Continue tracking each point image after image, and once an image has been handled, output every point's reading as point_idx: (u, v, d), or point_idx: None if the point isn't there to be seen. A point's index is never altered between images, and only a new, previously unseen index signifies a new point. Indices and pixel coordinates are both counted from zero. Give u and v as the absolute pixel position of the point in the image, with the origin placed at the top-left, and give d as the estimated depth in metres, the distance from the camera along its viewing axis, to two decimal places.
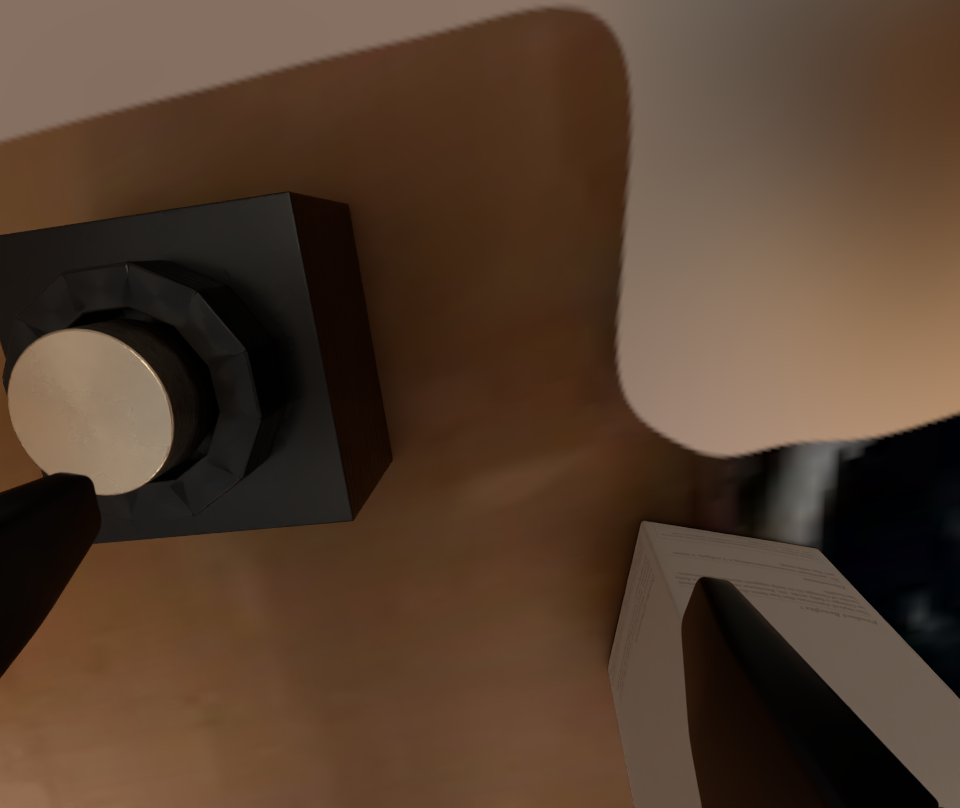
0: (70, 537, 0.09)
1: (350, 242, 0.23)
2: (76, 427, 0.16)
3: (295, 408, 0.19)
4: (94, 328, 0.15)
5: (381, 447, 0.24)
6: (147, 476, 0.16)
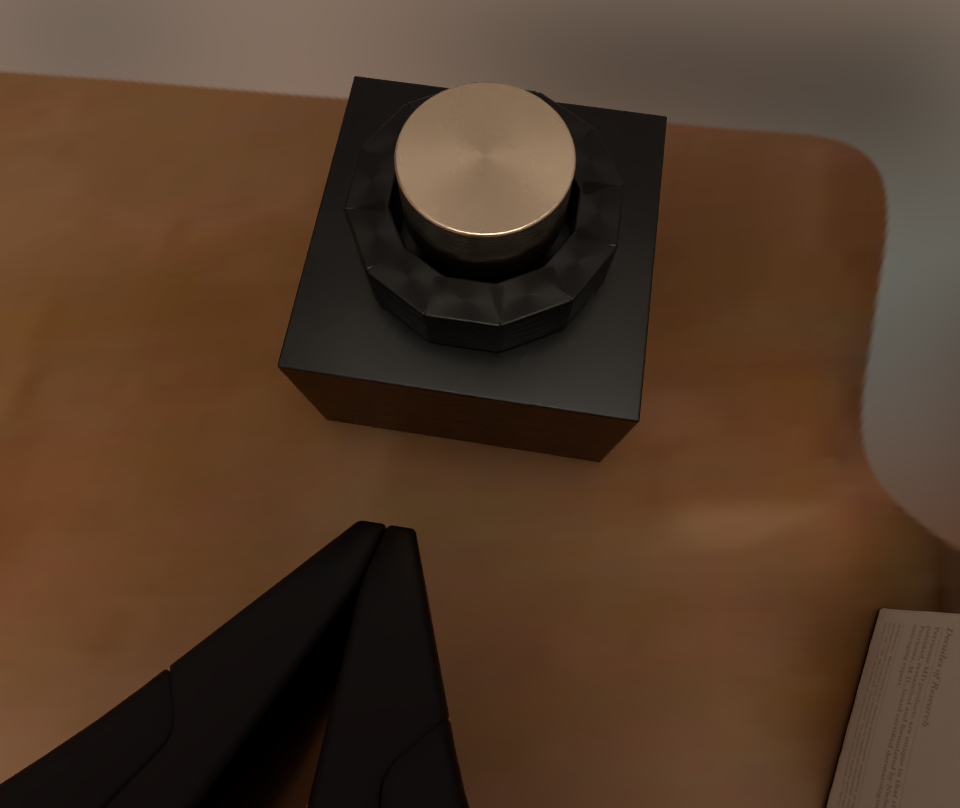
0: None
1: None
2: (466, 162, 0.15)
3: (612, 287, 0.18)
4: None
5: None
6: (519, 225, 0.14)
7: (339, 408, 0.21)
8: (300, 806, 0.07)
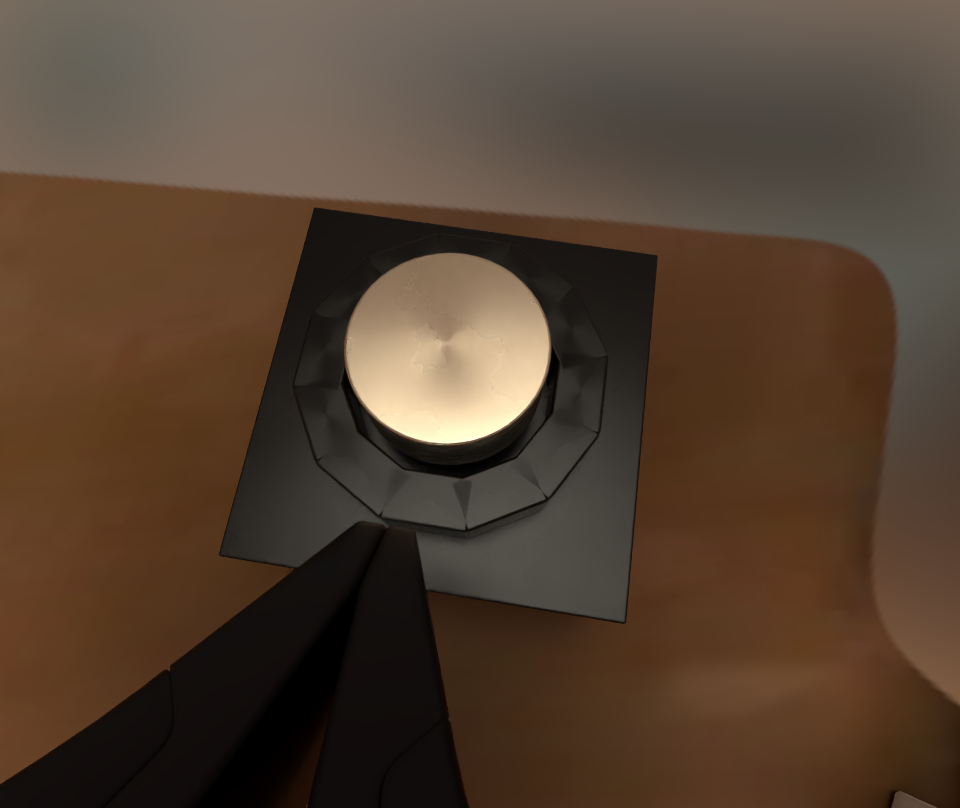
0: None
1: None
2: (426, 352, 0.13)
3: (596, 459, 0.16)
4: None
5: None
6: (486, 431, 0.13)
7: None
8: (300, 806, 0.07)
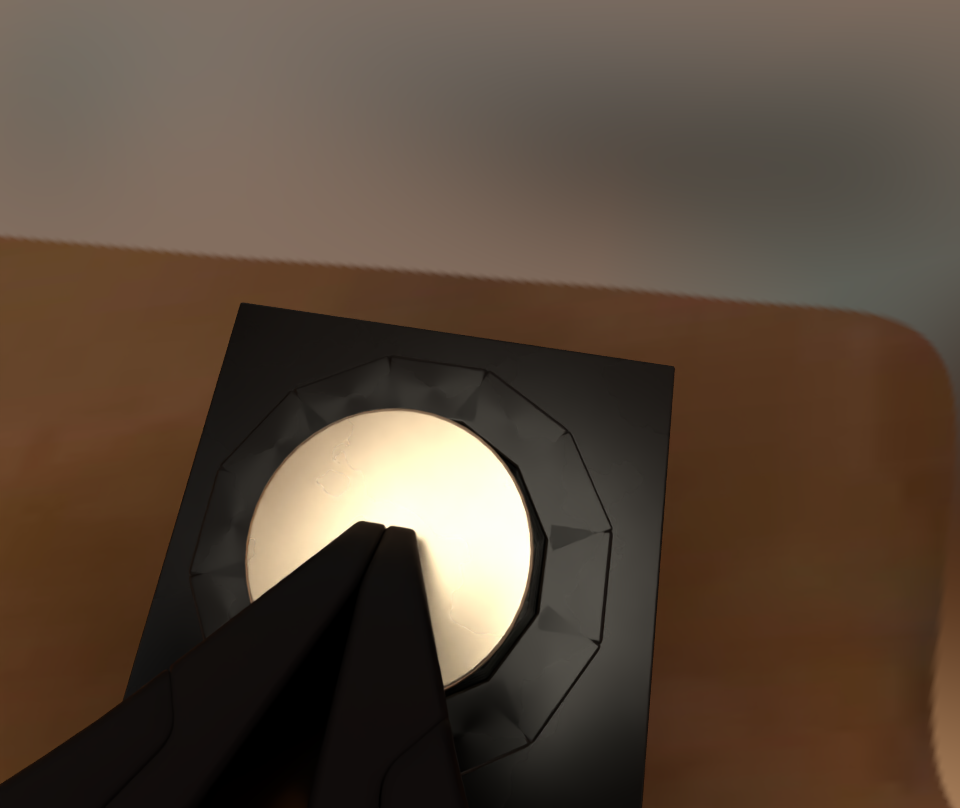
0: None
1: None
2: None
3: None
4: None
5: None
6: None
7: None
8: (300, 806, 0.07)
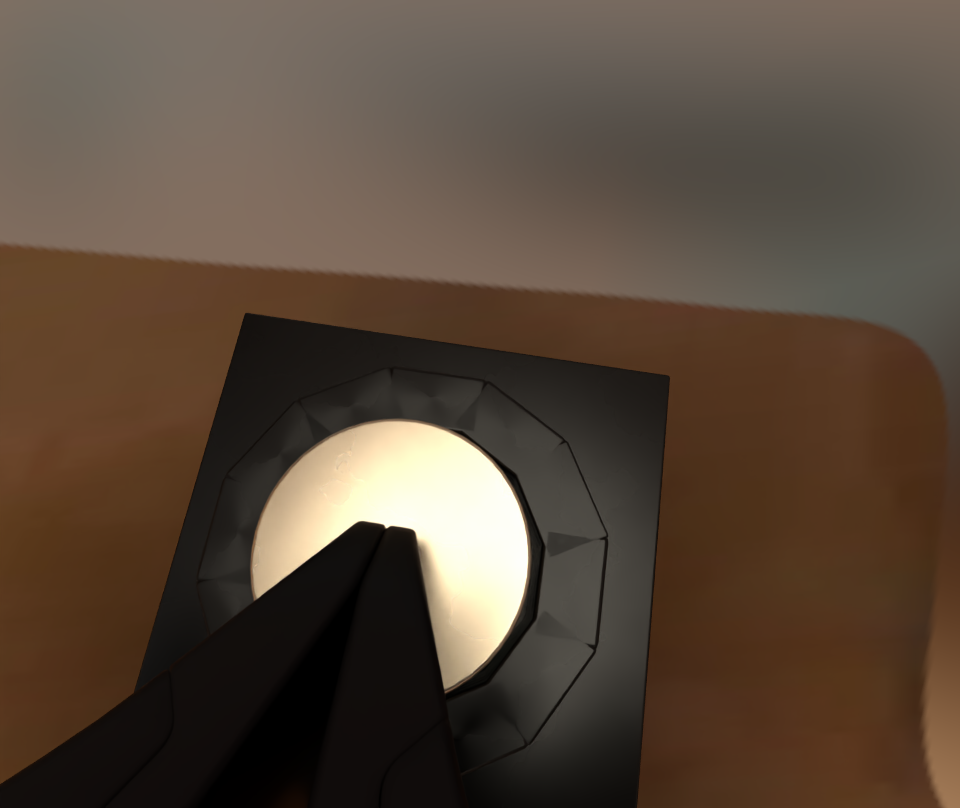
0: None
1: None
2: None
3: None
4: None
5: None
6: None
7: None
8: (300, 806, 0.07)
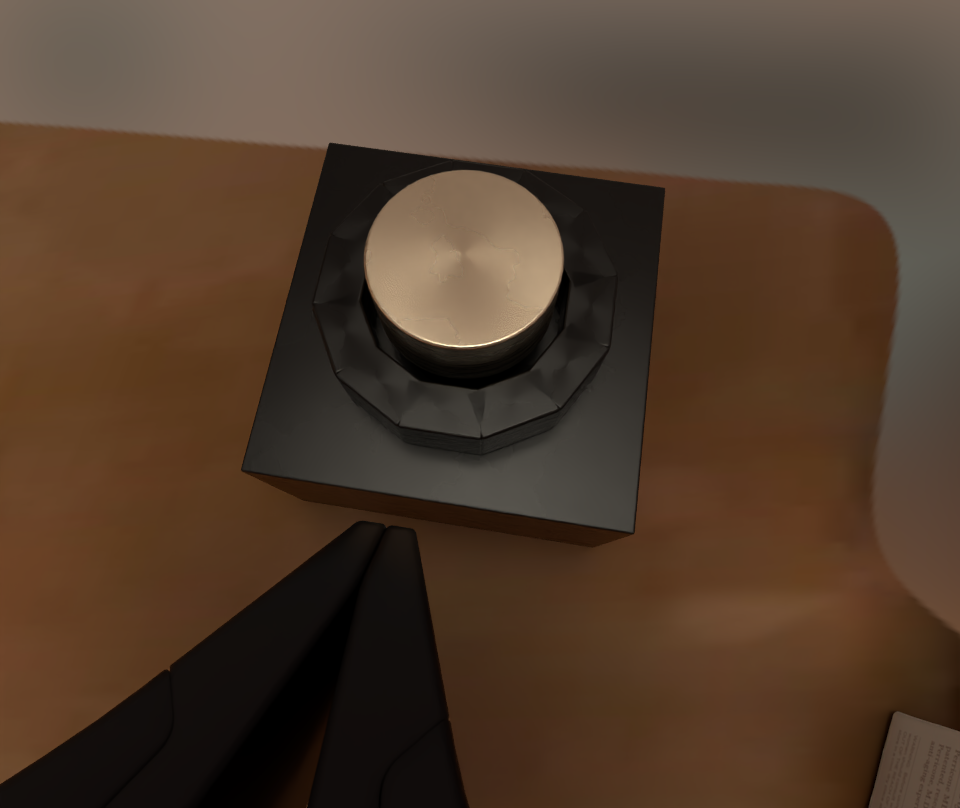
0: None
1: None
2: (443, 262, 0.14)
3: (605, 381, 0.16)
4: None
5: None
6: (501, 336, 0.13)
7: (314, 496, 0.19)
8: (300, 806, 0.07)
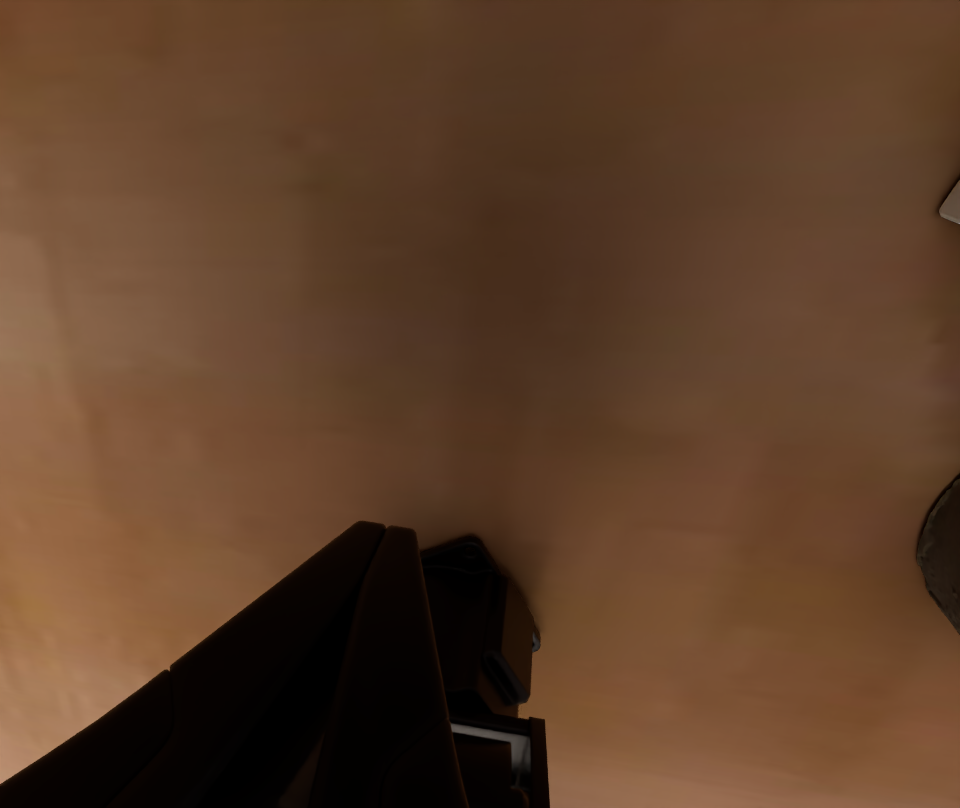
0: None
1: None
2: None
3: None
4: None
5: None
6: None
7: None
8: (300, 806, 0.07)
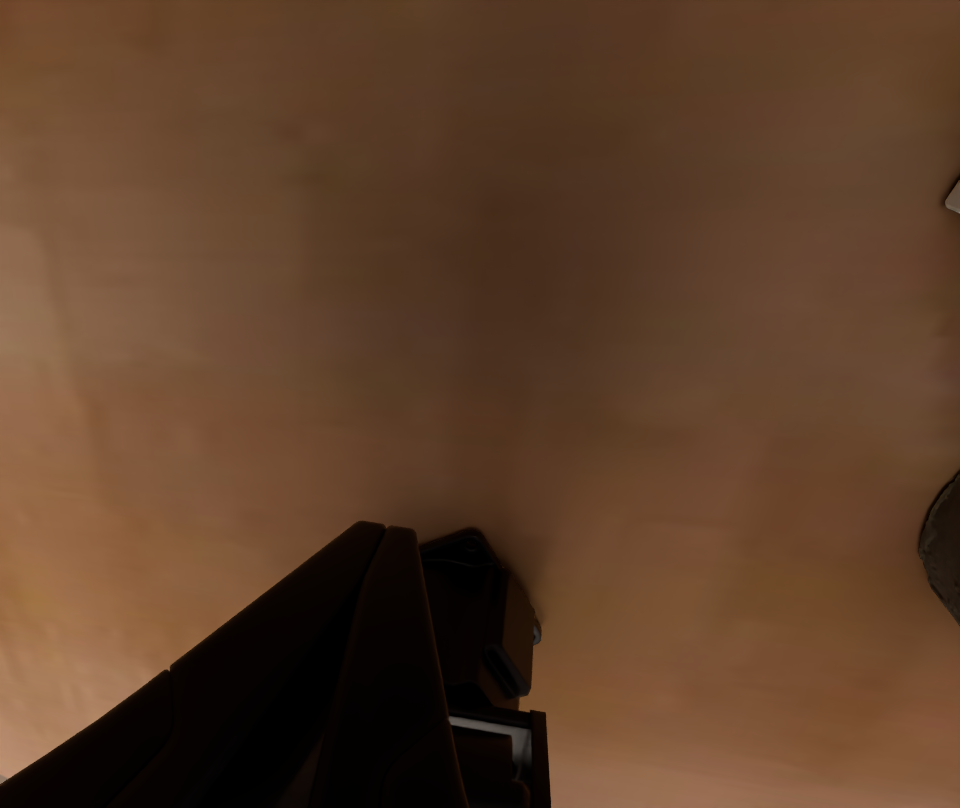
0: None
1: None
2: None
3: None
4: None
5: None
6: None
7: None
8: (300, 806, 0.07)
